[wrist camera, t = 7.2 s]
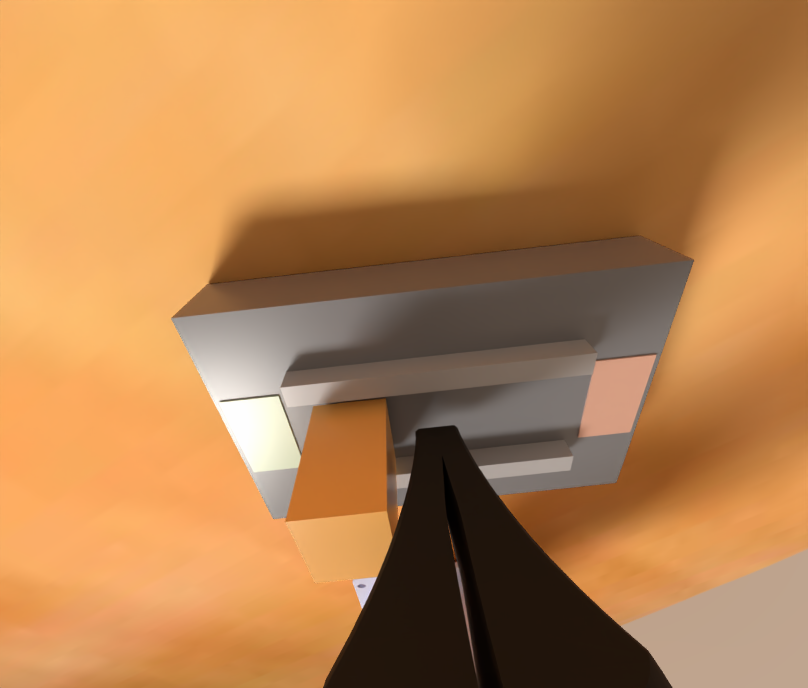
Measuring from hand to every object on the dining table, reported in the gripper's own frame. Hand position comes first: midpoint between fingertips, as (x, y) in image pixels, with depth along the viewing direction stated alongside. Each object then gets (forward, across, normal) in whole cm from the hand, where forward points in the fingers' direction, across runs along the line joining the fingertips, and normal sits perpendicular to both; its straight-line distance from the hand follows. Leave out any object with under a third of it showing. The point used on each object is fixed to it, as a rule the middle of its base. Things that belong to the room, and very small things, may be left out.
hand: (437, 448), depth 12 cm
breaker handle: (+1, +3, 0) cm, 3 cm away
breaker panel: (+4, 0, 0) cm, 4 cm away
